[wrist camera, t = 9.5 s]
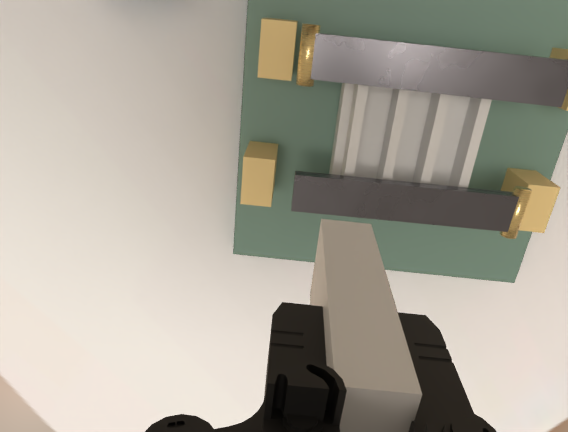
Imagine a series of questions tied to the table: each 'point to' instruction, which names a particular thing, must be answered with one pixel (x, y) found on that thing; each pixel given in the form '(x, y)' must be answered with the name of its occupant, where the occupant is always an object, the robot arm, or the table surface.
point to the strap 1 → (430, 68)
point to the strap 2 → (410, 202)
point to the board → (395, 130)
